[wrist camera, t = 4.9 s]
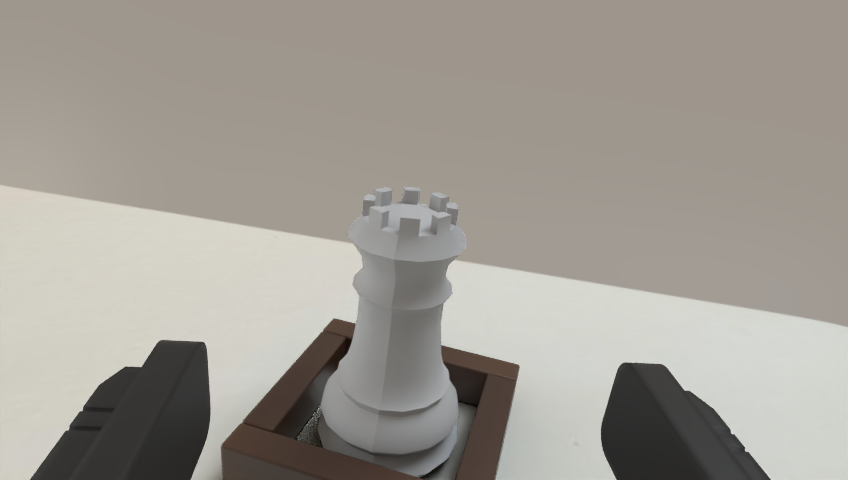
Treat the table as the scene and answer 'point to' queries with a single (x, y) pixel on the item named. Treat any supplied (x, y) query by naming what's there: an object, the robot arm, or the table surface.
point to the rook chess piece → (397, 339)
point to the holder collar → (344, 475)
